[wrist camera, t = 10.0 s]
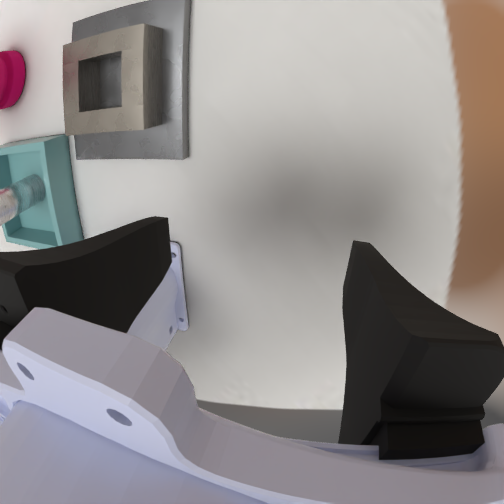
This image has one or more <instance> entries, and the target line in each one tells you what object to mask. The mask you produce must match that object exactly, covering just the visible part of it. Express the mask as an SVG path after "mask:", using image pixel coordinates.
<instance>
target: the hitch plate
mask: <svg viewBox="0 0 504 504" xmlns="http://www.w3.org/2000/svg"><path fill="white" fill-rule="evenodd" d="M190 8H191V0H149V1H144V2H140V3H136V4H132V5H128V6H124V7H120V8H117V9H113V10H110V11H106V12H103V13H100V14H97V15H94V16H91V17H88V18H85V19H82V20H79V21H77V22H74V23H73V30H72V43H69V44H66V45H63V102H64V120H65V133H66V136H69V135H74V139H75V149H76V159H77V160H86V159H176V160H183V159H185V158H187V157H188V57H189V28H190Z"/></svg>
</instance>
